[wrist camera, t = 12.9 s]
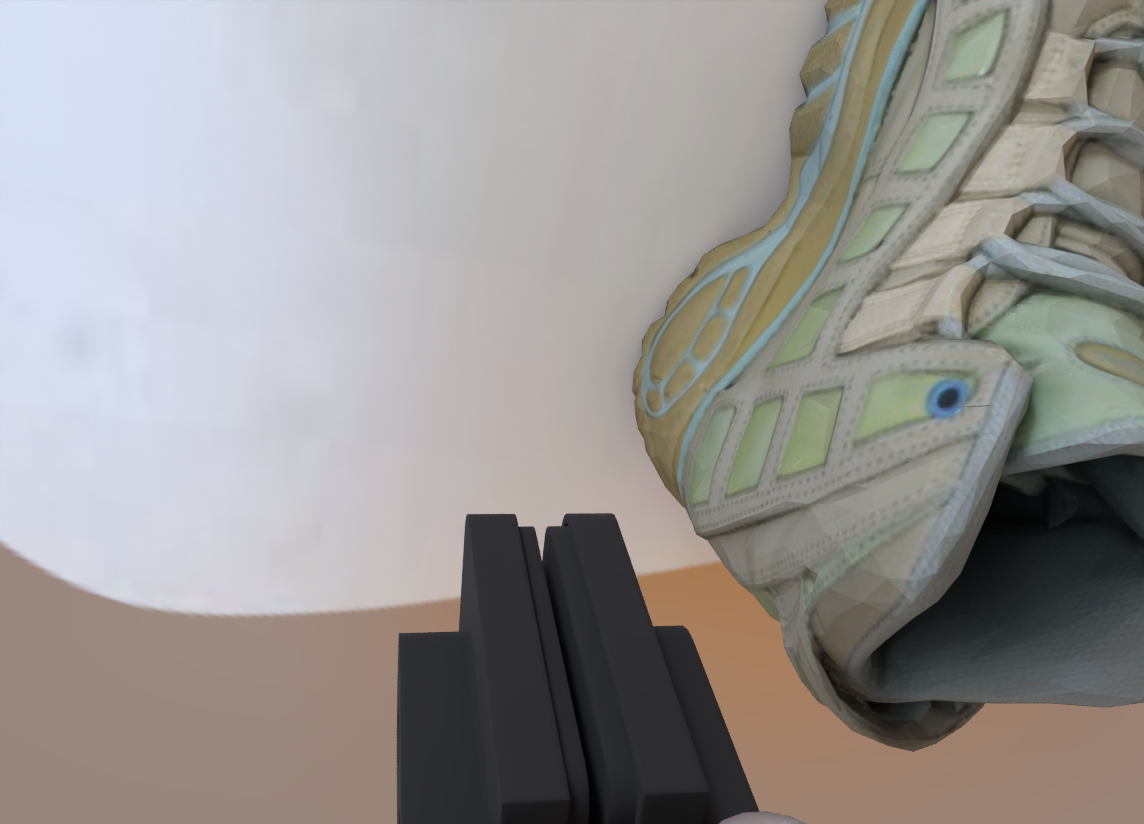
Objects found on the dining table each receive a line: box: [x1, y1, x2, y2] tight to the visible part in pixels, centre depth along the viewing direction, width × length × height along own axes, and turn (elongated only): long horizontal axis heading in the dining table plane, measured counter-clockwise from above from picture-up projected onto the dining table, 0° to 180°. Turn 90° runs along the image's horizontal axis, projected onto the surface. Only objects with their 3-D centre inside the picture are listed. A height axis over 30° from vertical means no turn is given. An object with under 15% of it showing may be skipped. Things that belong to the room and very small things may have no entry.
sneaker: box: [632, 0, 1144, 752], centre depth 22 cm, size 11×19×15 cm, turn 136°
